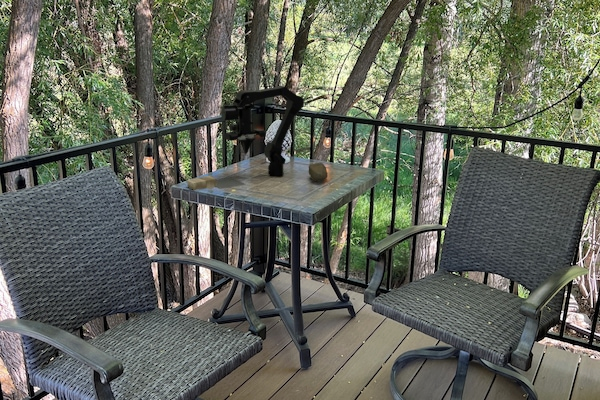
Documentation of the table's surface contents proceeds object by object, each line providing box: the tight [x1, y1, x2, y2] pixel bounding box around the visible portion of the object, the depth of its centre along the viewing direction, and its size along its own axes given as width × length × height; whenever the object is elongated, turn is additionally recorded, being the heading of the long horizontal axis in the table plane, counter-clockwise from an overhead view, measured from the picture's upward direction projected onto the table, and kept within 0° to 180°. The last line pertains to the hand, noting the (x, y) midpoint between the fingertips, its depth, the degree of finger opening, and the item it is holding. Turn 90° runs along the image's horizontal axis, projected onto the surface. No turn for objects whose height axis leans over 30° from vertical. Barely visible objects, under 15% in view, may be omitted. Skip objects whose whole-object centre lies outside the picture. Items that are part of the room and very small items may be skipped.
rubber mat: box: [215, 176, 246, 190], centre depth 260 cm, size 13×14×1 cm
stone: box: [308, 162, 328, 182], centre depth 266 cm, size 17×9×8 cm, turn 6°
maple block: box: [186, 175, 217, 191], centre depth 253 cm, size 4×6×11 cm
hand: (245, 153), depth 264 cm, fingers closed
